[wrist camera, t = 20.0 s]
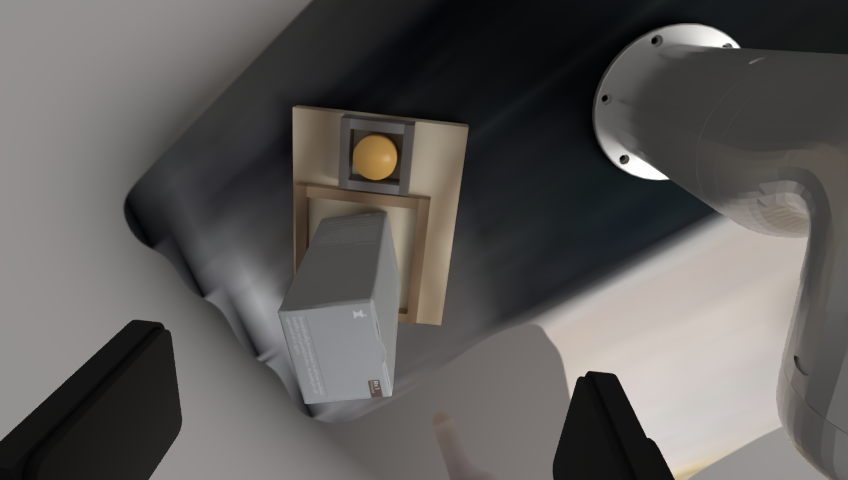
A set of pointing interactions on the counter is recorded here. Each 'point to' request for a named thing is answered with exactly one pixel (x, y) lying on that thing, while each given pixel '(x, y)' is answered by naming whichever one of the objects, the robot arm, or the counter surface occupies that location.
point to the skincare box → (344, 310)
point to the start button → (375, 156)
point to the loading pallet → (384, 193)
